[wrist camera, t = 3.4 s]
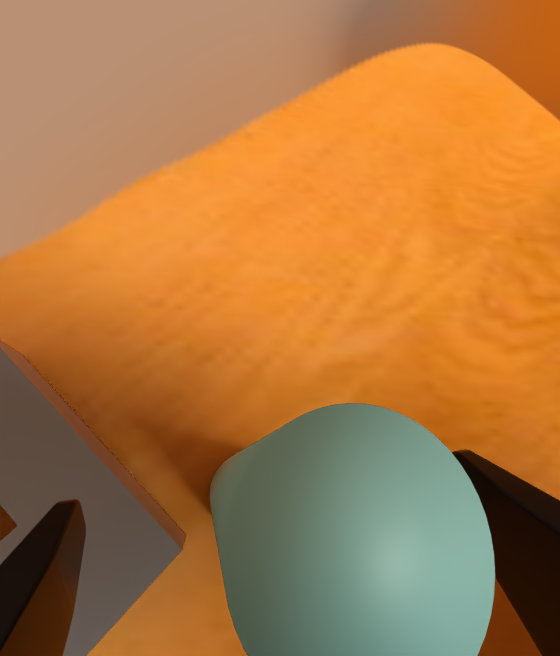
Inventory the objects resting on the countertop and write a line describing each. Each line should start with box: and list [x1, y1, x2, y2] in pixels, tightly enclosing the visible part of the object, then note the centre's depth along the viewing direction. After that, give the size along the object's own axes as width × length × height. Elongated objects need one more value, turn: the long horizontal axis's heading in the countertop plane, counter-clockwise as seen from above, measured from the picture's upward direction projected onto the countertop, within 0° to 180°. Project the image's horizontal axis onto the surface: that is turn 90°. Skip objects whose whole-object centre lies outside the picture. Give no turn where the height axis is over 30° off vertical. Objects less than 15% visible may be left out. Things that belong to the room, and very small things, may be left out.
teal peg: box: [209, 403, 495, 656], centre depth 10 cm, size 3×3×12 cm
